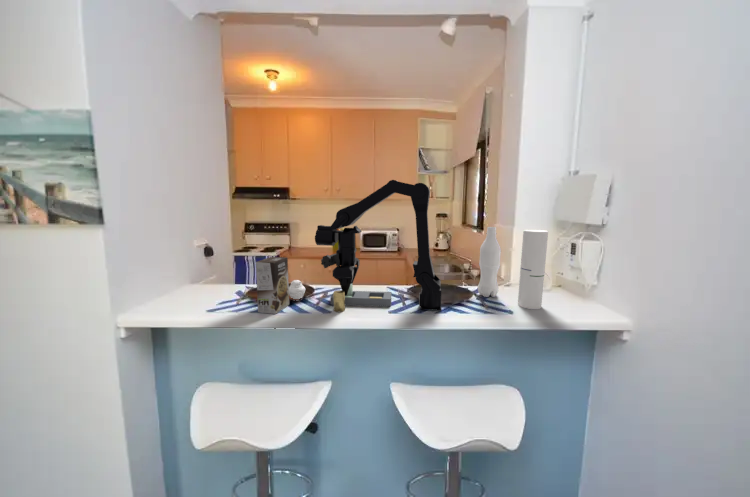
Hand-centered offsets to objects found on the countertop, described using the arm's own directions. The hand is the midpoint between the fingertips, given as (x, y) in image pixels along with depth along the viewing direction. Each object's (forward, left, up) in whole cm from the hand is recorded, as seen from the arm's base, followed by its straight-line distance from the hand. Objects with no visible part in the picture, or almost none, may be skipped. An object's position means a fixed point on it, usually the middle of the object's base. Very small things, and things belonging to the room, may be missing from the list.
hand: (347, 291), depth 109 cm
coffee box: (+22, +9, -4) cm, 24 cm away
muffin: (+18, -1, -4) cm, 18 cm away
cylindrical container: (-61, -2, -4) cm, 61 cm away
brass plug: (+1, +9, -4) cm, 10 cm away
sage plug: (0, 0, -4) cm, 4 cm away
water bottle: (-50, -12, -4) cm, 51 cm away
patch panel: (-5, 0, -4) cm, 6 cm away
